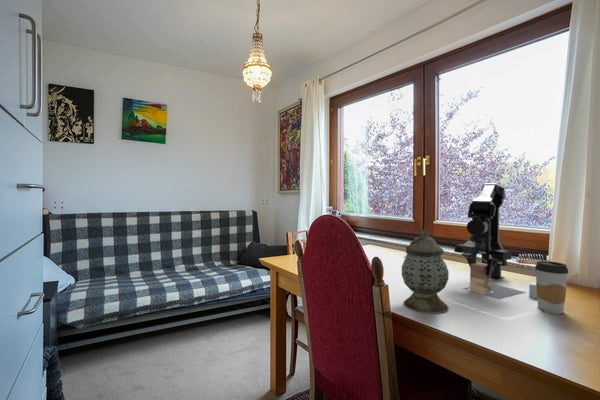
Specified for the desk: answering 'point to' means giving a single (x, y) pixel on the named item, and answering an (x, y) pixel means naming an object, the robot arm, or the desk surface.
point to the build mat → (499, 292)
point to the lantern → (425, 275)
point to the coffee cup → (551, 286)
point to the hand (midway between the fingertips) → (480, 274)
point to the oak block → (480, 285)
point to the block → (532, 290)
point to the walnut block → (479, 271)
